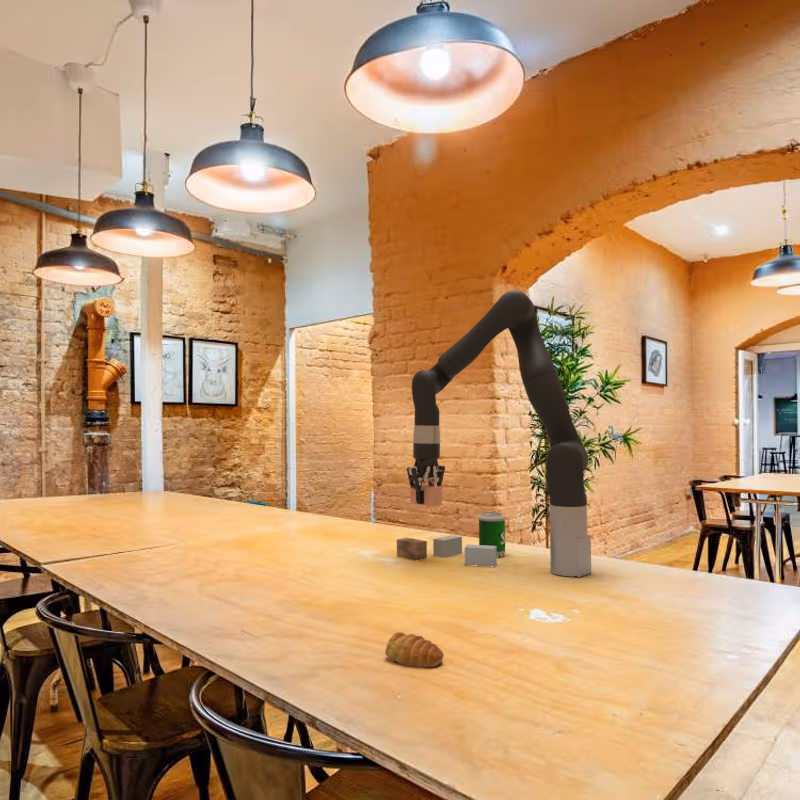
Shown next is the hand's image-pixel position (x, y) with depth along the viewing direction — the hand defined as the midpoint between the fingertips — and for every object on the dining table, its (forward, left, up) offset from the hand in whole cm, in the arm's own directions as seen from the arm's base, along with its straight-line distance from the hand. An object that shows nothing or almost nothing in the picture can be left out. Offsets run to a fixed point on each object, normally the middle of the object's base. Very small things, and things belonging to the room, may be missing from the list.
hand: (425, 502), depth 176 cm
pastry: (-47, +55, -16) cm, 75 cm away
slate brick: (+1, -10, -16) cm, 19 cm away
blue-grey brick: (-14, -6, -16) cm, 22 cm away
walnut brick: (+6, 0, -16) cm, 17 cm away
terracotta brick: (0, 0, 0) cm, 0 cm away
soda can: (-9, -18, -16) cm, 26 cm away
